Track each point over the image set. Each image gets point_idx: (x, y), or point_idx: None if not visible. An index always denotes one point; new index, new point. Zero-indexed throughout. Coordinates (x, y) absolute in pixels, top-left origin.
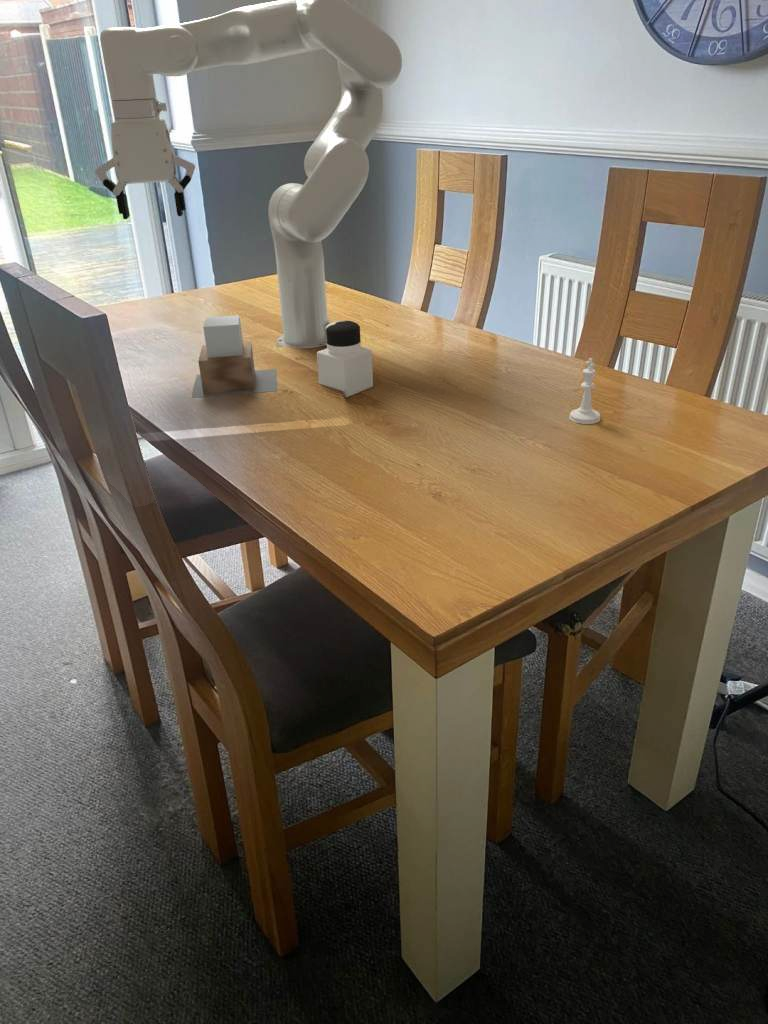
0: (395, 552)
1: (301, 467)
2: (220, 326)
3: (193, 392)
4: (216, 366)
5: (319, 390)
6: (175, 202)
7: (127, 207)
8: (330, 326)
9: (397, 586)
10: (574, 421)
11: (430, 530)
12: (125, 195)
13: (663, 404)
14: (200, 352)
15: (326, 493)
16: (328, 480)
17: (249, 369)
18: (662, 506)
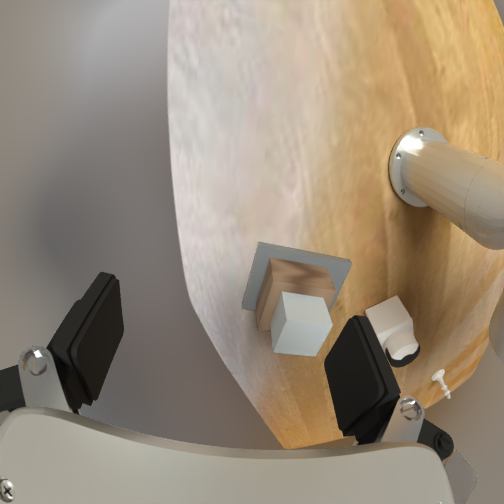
0: (295, 435)
1: (291, 398)
2: (294, 353)
3: (246, 297)
4: None
5: (363, 311)
6: (333, 402)
7: (104, 321)
8: (395, 361)
9: (286, 442)
10: (431, 377)
11: (314, 430)
12: (81, 361)
13: (467, 364)
14: (265, 305)
15: (291, 413)
16: (297, 407)
17: None
18: None
